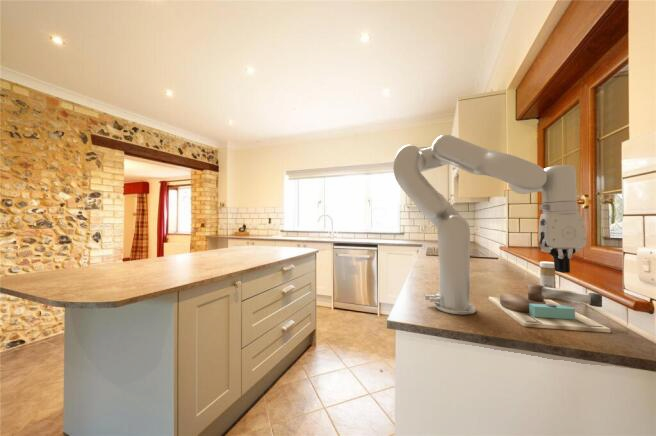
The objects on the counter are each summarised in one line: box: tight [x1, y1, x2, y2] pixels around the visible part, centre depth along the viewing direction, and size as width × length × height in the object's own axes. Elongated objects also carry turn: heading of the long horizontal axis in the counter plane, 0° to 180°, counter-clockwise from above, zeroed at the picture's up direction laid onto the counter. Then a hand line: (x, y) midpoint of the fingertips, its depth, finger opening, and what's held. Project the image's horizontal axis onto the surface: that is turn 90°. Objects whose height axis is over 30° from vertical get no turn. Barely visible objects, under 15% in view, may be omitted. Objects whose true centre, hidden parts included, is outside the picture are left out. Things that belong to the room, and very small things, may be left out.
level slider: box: [529, 303, 576, 319], centre depth 76 cm, size 10×3×3 cm, turn 78°
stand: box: [488, 296, 612, 333], centre depth 82 cm, size 20×25×1 cm
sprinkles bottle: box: [539, 261, 557, 300], centre depth 98 cm, size 5×5×14 cm
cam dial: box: [499, 283, 603, 312], centre depth 81 cm, size 22×16×7 cm
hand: (562, 271), depth 74 cm, fingers closed
